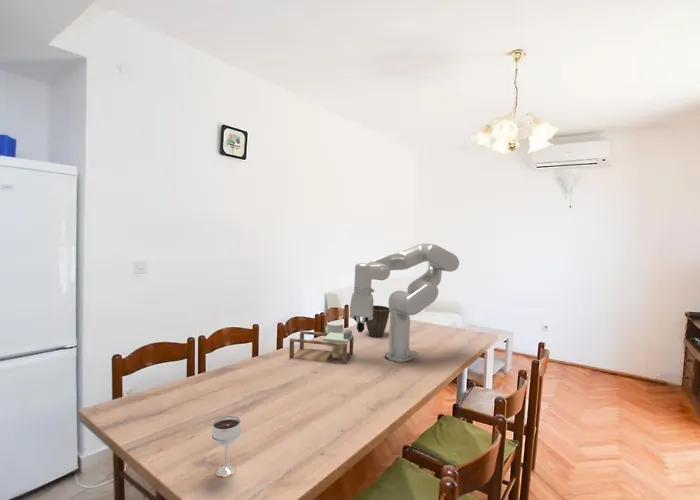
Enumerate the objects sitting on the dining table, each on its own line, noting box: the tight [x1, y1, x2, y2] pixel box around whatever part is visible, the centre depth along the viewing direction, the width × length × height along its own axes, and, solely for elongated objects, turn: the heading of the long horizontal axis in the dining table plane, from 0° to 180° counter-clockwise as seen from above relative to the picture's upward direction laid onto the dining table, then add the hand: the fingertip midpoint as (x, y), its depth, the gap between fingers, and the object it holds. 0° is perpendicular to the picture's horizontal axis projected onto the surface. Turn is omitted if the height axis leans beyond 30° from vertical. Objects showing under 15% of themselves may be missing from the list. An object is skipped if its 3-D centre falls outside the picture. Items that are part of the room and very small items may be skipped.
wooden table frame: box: [288, 330, 355, 365], centre depth 174 cm, size 26×15×10 cm, turn 78°
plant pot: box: [365, 304, 390, 338], centre depth 216 cm, size 15×15×16 cm
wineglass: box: [211, 415, 242, 474], centre depth 91 cm, size 7×7×12 cm
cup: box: [326, 321, 344, 347], centre depth 193 cm, size 8×8×12 cm
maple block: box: [331, 342, 343, 359], centre depth 172 cm, size 5×5×6 cm
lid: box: [322, 329, 354, 344], centre depth 172 cm, size 11×11×4 cm
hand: (360, 331), depth 170 cm, fingers closed
